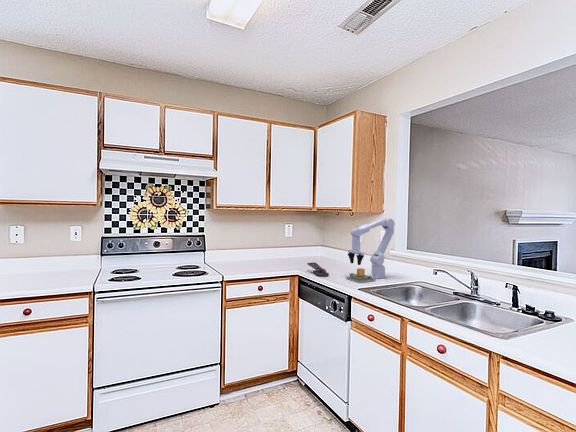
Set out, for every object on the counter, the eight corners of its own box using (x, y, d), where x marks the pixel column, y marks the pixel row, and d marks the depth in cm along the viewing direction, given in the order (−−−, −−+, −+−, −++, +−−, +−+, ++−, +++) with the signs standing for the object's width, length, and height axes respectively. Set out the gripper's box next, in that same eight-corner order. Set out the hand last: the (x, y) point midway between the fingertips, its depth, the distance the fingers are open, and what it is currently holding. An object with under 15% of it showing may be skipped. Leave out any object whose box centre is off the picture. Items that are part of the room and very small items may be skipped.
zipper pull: (316, 262, 263) (330, 267, 239) (316, 270, 263) (330, 276, 240) (305, 262, 260) (319, 268, 236) (305, 271, 260) (319, 277, 237)
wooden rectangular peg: (361, 279, 232) (361, 268, 232) (364, 280, 229) (364, 269, 229) (356, 280, 230) (356, 268, 229) (359, 281, 227) (359, 269, 227)
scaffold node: (358, 276, 242) (358, 271, 242) (375, 281, 227) (375, 275, 227) (343, 278, 235) (343, 272, 235) (360, 283, 220) (360, 277, 220)
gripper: (345, 244, 241) (344, 262, 242) (358, 246, 229) (358, 266, 229) (352, 244, 245) (351, 262, 245) (366, 246, 232) (365, 265, 233)
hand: (355, 264), depth 237 cm, fingers open, 7 cm apart
